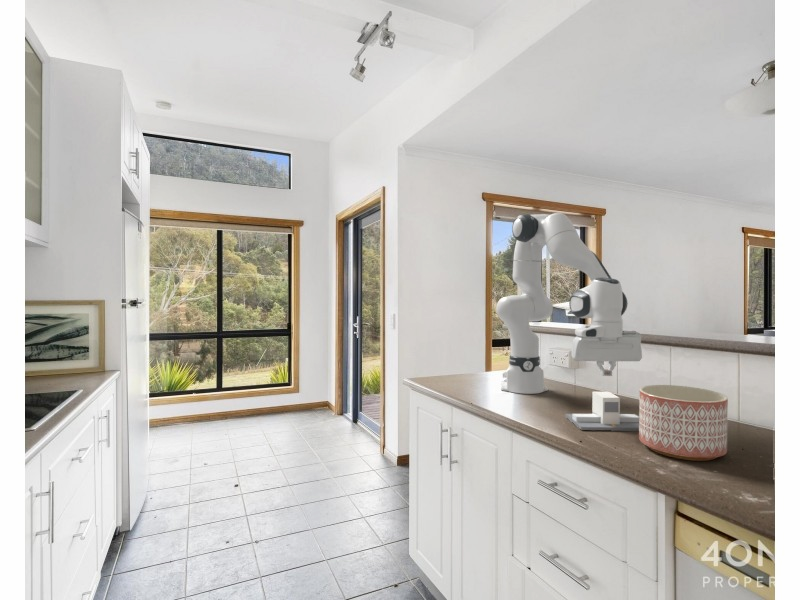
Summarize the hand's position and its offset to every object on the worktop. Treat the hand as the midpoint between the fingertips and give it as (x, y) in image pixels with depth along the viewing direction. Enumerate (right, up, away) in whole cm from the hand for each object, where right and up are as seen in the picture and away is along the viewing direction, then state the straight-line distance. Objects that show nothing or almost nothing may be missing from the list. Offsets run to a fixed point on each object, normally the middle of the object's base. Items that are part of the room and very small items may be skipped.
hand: (606, 375), depth 138 cm
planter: (+9, -16, -22) cm, 28 cm away
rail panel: (0, -15, 0) cm, 15 cm away
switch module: (0, -14, 0) cm, 14 cm away
